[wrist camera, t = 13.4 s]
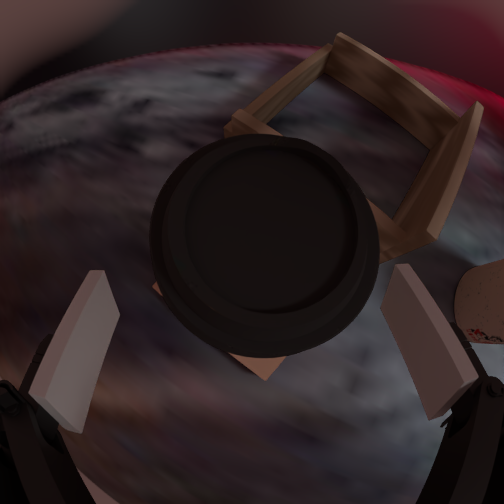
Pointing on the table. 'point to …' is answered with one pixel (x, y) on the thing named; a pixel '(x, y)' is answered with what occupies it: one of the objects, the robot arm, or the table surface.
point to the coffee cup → (263, 245)
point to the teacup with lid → (481, 303)
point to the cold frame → (399, 109)
